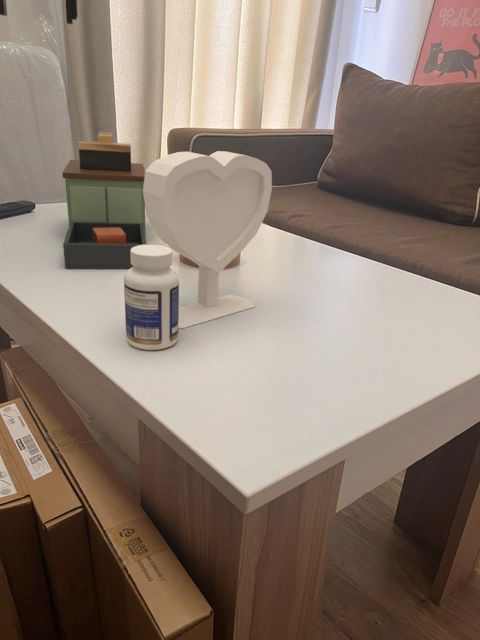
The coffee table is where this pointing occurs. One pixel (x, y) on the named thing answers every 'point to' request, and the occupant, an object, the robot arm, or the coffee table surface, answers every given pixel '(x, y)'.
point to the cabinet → (105, 194)
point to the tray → (100, 246)
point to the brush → (105, 154)
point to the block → (109, 236)
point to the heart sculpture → (207, 218)
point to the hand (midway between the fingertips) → (36, 19)
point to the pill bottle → (151, 298)
